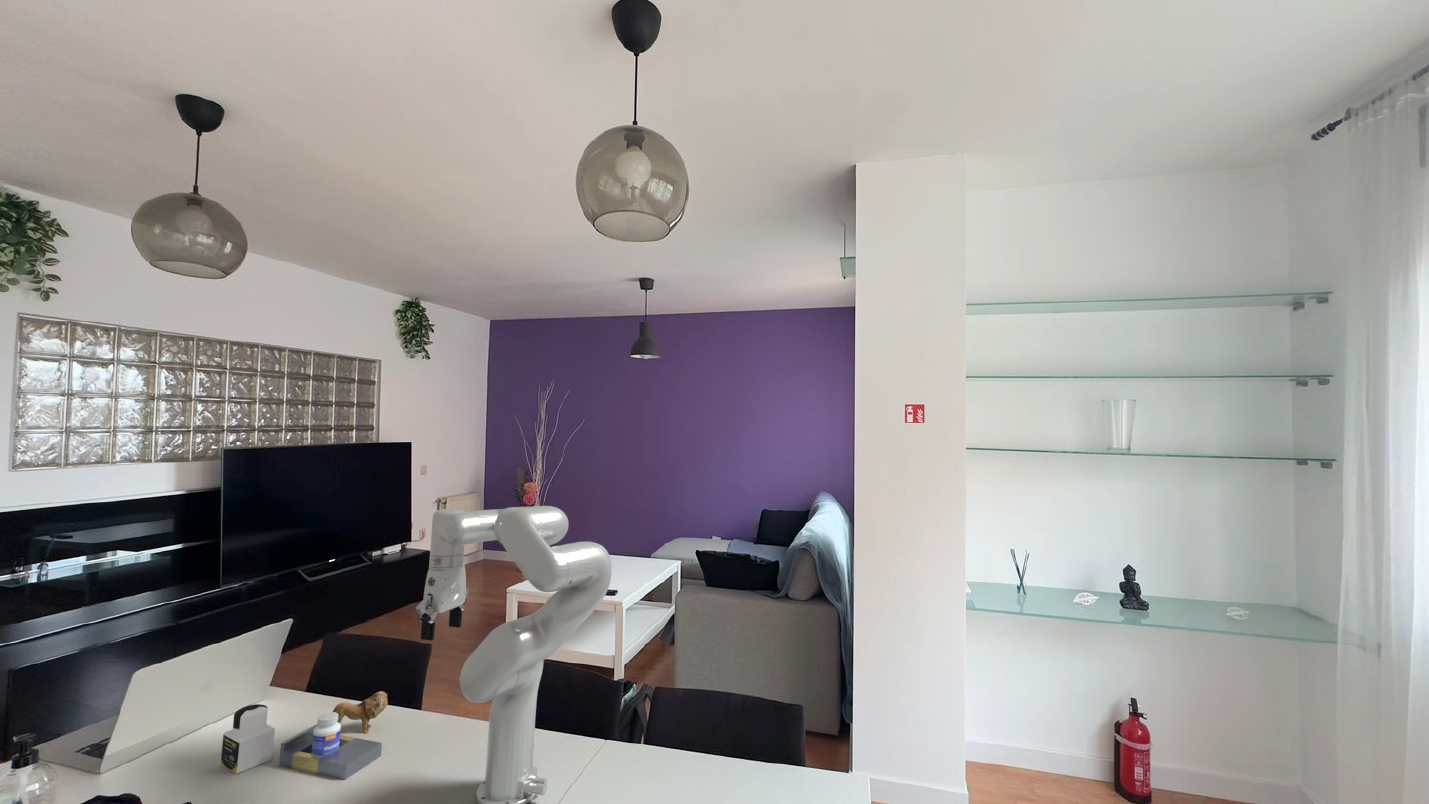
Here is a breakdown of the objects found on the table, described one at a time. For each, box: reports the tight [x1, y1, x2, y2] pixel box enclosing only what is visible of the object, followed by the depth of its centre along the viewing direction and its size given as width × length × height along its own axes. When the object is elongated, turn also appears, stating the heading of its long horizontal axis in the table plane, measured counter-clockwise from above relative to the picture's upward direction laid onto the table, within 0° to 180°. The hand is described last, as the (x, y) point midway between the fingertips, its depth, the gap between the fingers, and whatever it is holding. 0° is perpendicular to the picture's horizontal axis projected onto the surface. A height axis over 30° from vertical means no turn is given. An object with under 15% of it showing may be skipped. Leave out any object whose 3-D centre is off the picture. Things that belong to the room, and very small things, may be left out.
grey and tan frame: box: [278, 724, 383, 781], centre depth 134 cm, size 18×10×5 cm, turn 77°
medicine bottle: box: [220, 704, 276, 775], centre depth 133 cm, size 7×7×12 cm
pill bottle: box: [311, 711, 342, 756], centre depth 135 cm, size 5×5×10 cm
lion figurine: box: [332, 691, 389, 735], centre depth 149 cm, size 15×5×9 cm, turn 104°
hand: (441, 633), depth 140 cm, fingers open, 9 cm apart
